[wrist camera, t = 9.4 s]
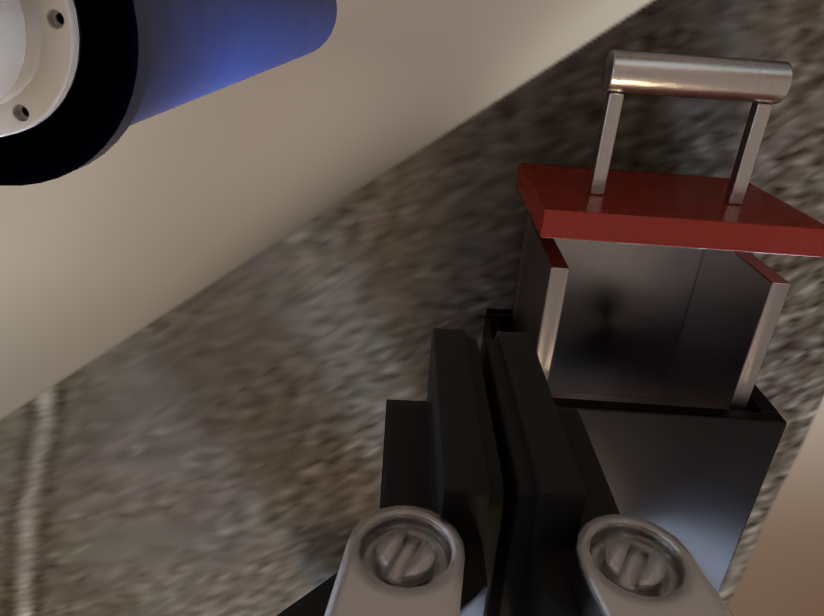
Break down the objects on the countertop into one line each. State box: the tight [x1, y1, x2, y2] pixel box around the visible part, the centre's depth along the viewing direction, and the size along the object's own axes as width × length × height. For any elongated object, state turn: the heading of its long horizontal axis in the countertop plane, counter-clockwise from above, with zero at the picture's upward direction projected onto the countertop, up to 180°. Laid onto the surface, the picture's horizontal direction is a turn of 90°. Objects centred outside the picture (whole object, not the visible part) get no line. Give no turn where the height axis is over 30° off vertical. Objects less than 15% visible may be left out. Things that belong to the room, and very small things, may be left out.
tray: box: [509, 49, 824, 411], centre depth 30 cm, size 19×11×8 cm, turn 176°
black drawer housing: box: [480, 309, 787, 593], centre depth 35 cm, size 15×13×10 cm
